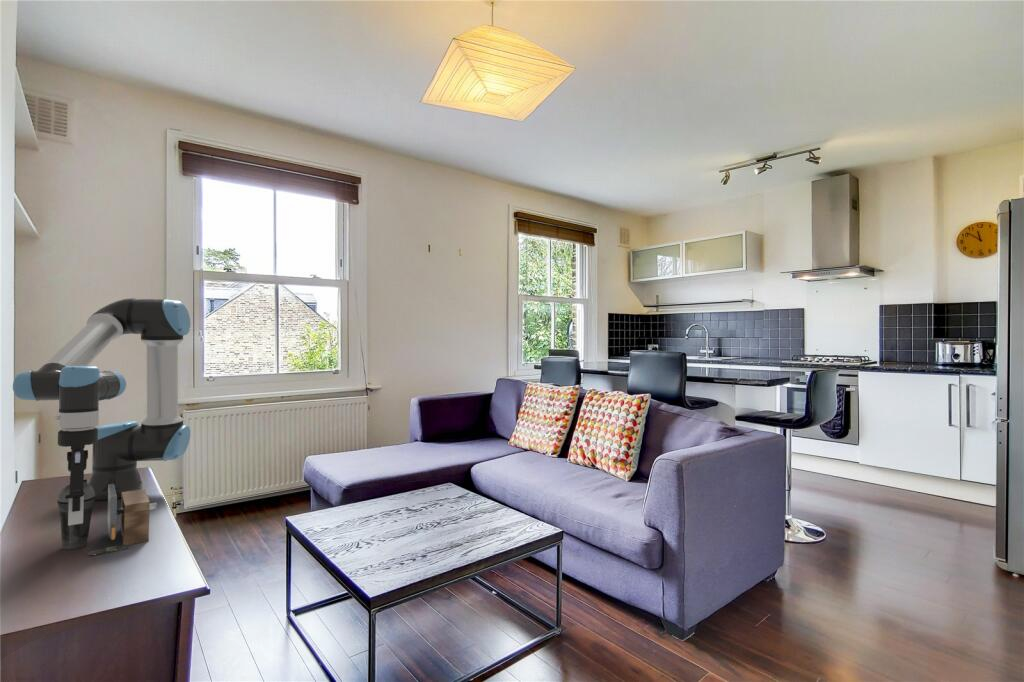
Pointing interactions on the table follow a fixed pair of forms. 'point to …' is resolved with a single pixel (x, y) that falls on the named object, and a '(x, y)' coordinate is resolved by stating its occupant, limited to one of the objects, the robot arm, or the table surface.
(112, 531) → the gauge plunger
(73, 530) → the beverage cup
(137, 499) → the brown boxy piece
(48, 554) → the table surface
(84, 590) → the table surface
